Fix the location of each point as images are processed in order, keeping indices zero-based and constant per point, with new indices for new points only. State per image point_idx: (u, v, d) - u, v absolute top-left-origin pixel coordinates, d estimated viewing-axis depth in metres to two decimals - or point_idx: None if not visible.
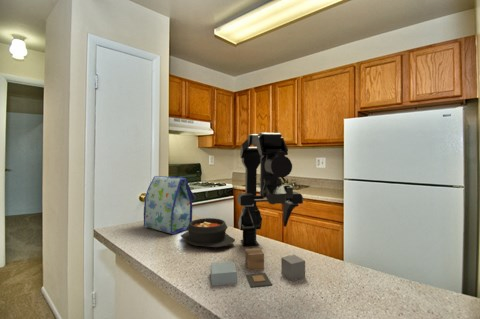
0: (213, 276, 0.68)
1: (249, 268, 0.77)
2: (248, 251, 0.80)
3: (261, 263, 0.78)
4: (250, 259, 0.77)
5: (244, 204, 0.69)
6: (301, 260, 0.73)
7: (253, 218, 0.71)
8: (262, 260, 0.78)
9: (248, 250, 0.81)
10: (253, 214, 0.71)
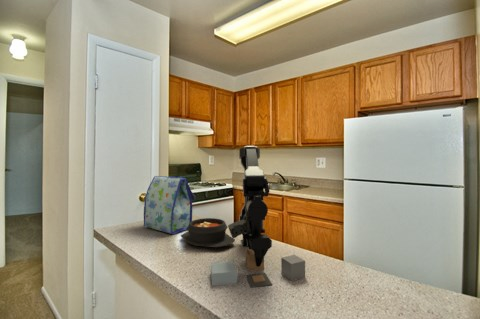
0: (213, 276, 0.68)
1: (249, 268, 0.77)
2: (248, 251, 0.80)
3: (261, 263, 0.78)
4: (250, 259, 0.77)
5: None
6: (301, 260, 0.73)
7: (247, 245, 0.85)
8: None
9: (248, 250, 0.81)
10: (247, 241, 0.85)
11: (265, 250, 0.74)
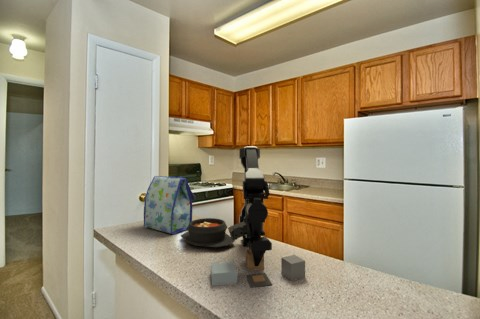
0: (213, 276, 0.68)
1: (249, 268, 0.77)
2: (248, 251, 0.80)
3: (261, 263, 0.78)
4: (250, 258, 0.77)
5: None
6: (301, 260, 0.73)
7: None
8: (262, 260, 0.78)
9: (248, 250, 0.81)
10: (248, 245, 0.83)
11: (263, 250, 0.76)
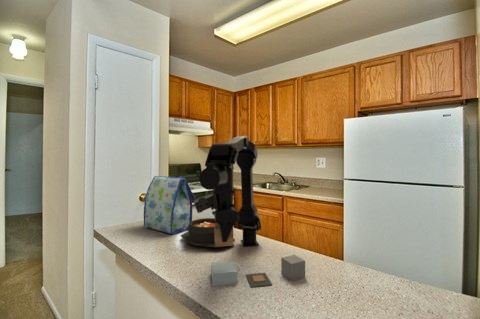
0: (214, 276, 0.68)
1: (216, 244, 0.69)
2: (216, 226, 0.72)
3: (230, 238, 0.70)
4: (218, 233, 0.69)
5: None
6: (301, 260, 0.73)
7: None
8: (231, 235, 0.70)
9: (217, 225, 0.73)
10: None
11: (231, 224, 0.68)
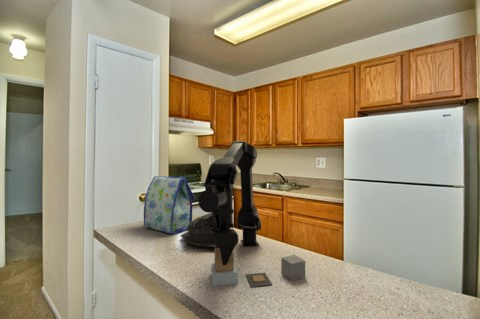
0: (214, 276, 0.68)
1: (217, 269, 0.69)
2: (217, 250, 0.72)
3: (231, 264, 0.70)
4: (218, 259, 0.69)
5: None
6: (301, 260, 0.73)
7: None
8: (231, 260, 0.70)
9: (217, 249, 0.73)
10: None
11: (232, 247, 0.66)
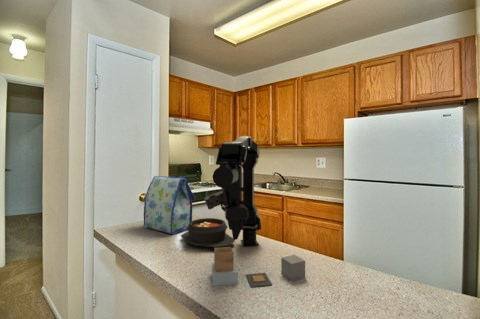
0: (214, 276, 0.68)
1: (216, 269, 0.69)
2: (216, 250, 0.72)
3: (230, 263, 0.70)
4: (218, 258, 0.69)
5: None
6: (301, 260, 0.73)
7: (227, 219, 0.80)
8: (231, 260, 0.70)
9: (217, 249, 0.73)
10: None
11: (242, 221, 0.69)
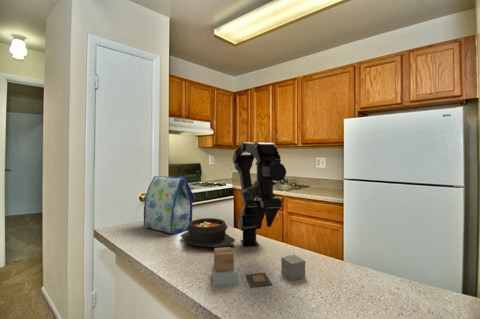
0: (214, 276, 0.68)
1: (217, 269, 0.69)
2: (217, 250, 0.72)
3: (231, 264, 0.70)
4: (218, 259, 0.69)
5: (250, 197, 0.93)
6: (301, 260, 0.73)
7: (258, 211, 0.91)
8: (232, 260, 0.70)
9: (217, 249, 0.73)
10: (257, 207, 0.91)
11: (275, 211, 0.80)
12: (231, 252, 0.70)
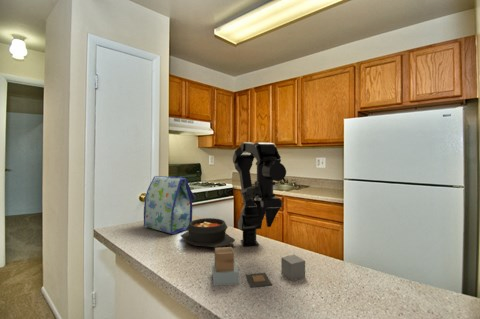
0: (215, 276, 0.68)
1: (217, 269, 0.69)
2: (217, 250, 0.72)
3: (231, 263, 0.70)
4: (218, 258, 0.69)
5: (251, 197, 0.93)
6: (301, 260, 0.73)
7: (258, 211, 0.91)
8: (232, 260, 0.70)
9: (217, 249, 0.73)
10: (257, 207, 0.91)
11: (276, 211, 0.80)
12: (231, 252, 0.71)
